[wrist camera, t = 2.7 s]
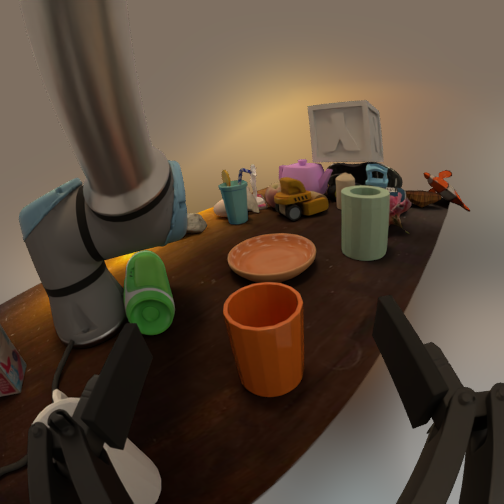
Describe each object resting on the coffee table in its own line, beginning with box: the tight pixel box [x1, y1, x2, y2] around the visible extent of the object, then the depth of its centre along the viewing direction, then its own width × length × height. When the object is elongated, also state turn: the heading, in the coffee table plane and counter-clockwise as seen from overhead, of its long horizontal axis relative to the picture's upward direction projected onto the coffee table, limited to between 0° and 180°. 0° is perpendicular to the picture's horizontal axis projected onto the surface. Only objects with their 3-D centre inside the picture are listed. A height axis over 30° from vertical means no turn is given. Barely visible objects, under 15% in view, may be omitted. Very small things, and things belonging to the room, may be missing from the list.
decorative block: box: [308, 100, 383, 162], centre depth 81 cm, size 19×19×20 cm
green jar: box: [341, 185, 390, 261], centre depth 50 cm, size 9×9×12 cm
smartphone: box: [247, 194, 267, 211], centre depth 90 cm, size 7×1×15 cm
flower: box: [389, 193, 411, 234], centre depth 58 cm, size 11×10×10 cm
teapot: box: [279, 159, 333, 194], centre depth 85 cm, size 20×12×13 cm, turn 46°
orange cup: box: [223, 282, 304, 397], centre depth 27 cm, size 7×7×10 cm
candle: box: [336, 173, 355, 210], centre depth 74 cm, size 6×6×10 cm
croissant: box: [406, 191, 441, 208], centre depth 70 cm, size 14×7×5 cm
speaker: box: [124, 250, 175, 335], centre depth 43 cm, size 18×7×8 cm
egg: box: [214, 199, 227, 217], centre depth 80 cm, size 6×6×8 cm
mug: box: [33, 389, 161, 504], centre depth 16 cm, size 8×12×10 cm
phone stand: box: [366, 164, 388, 187], centre depth 74 cm, size 8×8×12 cm
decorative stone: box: [186, 213, 207, 234], centre depth 73 cm, size 12×11×5 cm
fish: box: [424, 170, 470, 212], centre depth 70 cm, size 20×12×15 cm
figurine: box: [250, 165, 265, 205], centre depth 84 cm, size 7×7×12 cm
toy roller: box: [274, 177, 329, 221], centre depth 73 cm, size 9×14×10 cm, turn 110°
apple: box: [265, 182, 281, 208], centre depth 81 cm, size 8×8×8 cm
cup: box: [219, 168, 252, 224], centre depth 73 cm, size 14×8×15 cm, turn 42°
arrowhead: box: [246, 186, 259, 213], centre depth 81 cm, size 8×2×10 cm
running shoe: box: [327, 162, 402, 188], centre depth 91 cm, size 11×29×12 cm
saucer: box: [228, 234, 316, 283], centre depth 51 cm, size 16×16×3 cm
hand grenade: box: [328, 185, 336, 200], centre depth 83 cm, size 4×4×10 cm
